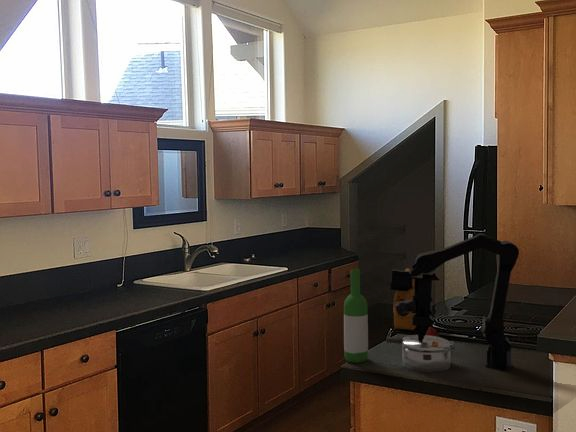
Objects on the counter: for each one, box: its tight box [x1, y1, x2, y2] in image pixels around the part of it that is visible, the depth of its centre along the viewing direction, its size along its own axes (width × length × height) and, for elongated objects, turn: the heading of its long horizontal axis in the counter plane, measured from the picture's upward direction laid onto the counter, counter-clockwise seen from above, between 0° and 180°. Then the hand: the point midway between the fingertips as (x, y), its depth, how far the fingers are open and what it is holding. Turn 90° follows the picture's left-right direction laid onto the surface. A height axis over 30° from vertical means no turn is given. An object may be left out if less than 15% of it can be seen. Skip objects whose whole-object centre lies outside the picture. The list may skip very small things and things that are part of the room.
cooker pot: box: [401, 344, 451, 373], centre depth 208 cm, size 15×19×6 cm
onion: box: [426, 327, 440, 337], centre depth 225 cm, size 6×6×8 cm
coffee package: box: [393, 267, 417, 331], centre depth 254 cm, size 10×12×22 cm
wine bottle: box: [343, 268, 369, 364], centre depth 212 cm, size 8×8×30 cm
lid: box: [385, 334, 456, 352], centre depth 208 cm, size 21×15×2 cm
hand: (420, 341), depth 208 cm, fingers closed, pressing on lid
